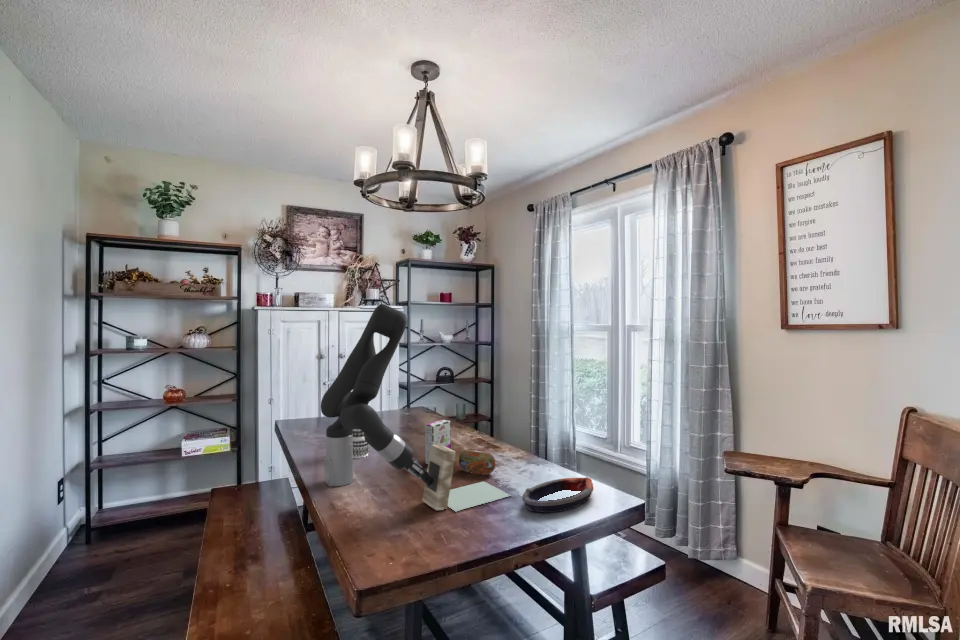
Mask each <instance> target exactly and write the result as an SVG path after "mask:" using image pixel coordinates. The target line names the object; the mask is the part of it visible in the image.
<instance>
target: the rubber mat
mask: <svg viewBox="0 0 960 640" xmlns="http://www.w3.org/2000/svg"><path fill="white" fill-rule="evenodd" d="M508 495H509V496H511V497H512V495H511V494H510V493H507V492H505V491H503V490H501V489H500V488H497V487H495V486H493V485H492V484H490V483H488V482H486V481H480V482H476V483H471V484H468V485H464V486H459V487H456V488H452V489H451V488H450V493H449V499H448V507H449V508H451V509H452V510H454V511H455V512H456V513H458V512H457V511H460V510H463V509H466V508H470V507H474V506H477V505H481V504H484V505H486V504H485V503H488V502H491V503H493V502H492V501H495V500H498V499H502V498H505V497H508ZM505 499H506V498H505ZM502 500H503V499H502ZM498 501H499V500H498ZM495 502H496V501H495ZM488 504H489V503H488ZM481 506H482V505H481ZM448 507H447V508H448ZM477 507H478V506H477ZM449 508H448V509H449ZM474 508H475V507H474ZM451 509H450V510H451ZM470 509H471V508H470ZM452 510H451V511H452ZM454 511H453V512H454ZM463 511H464V510H463ZM455 512H454V513H455ZM460 512H461V511H460Z"/></svg>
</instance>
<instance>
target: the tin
mask: <svg viewBox="0 0 960 640" xmlns="http://www.w3.org/2000/svg"><path fill="white" fill-rule="evenodd" d="M458 464H459V467H460V468H461V470H462V471H463V472H465V471H467V472H466V473H468V472H472V473H471V474H474V473H478V474H477V475H480V474H483V475H482V476H488V475H491V473H493V472H494V470H495V469H496V460H495V457H494V455H492V453H490V452H486V451H482V450H481V451H480V450H474V449H473V450H472V449H468V450H464V451H462V452H461V453H460V455H459V457H458Z"/></svg>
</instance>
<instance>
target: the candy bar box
mask: <svg viewBox="0 0 960 640" xmlns="http://www.w3.org/2000/svg"><path fill="white" fill-rule="evenodd" d="M451 423H452V422H451V420H447V419H440V420H436V421H432V422H430V423H426V424H424V448H425V450H424V454H425V455H424V456H425V457H424V460H425V461H424V462H425V465H427V464H428V461H429V455H430V448H431V445H443V446H445V447H447V448H449V449H452V439H451V437H452V434H451V432H452V431H451V430H452V428H451V427H452V425H451Z"/></svg>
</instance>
